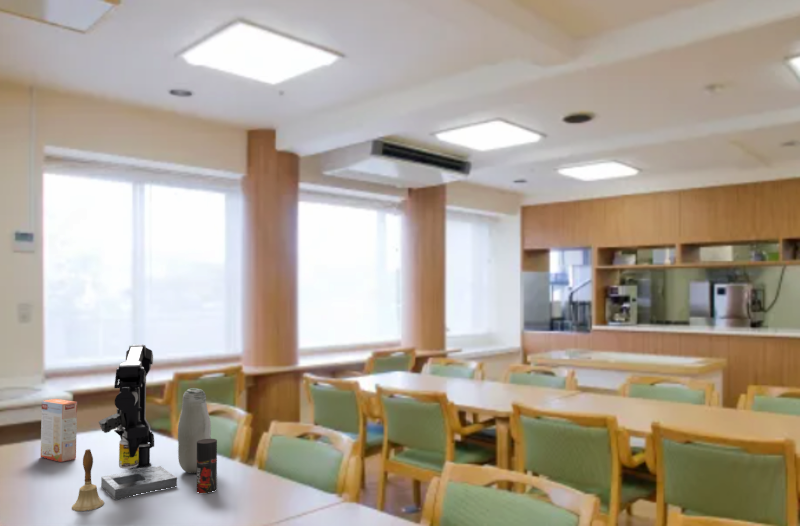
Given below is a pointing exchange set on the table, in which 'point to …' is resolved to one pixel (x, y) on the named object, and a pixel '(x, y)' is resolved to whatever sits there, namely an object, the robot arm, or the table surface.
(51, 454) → the cracker box
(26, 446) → the table surface
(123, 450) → the supplement bottle
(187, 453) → the gray bottle
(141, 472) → the jig block
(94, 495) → the hand bell
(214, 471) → the deodorant
